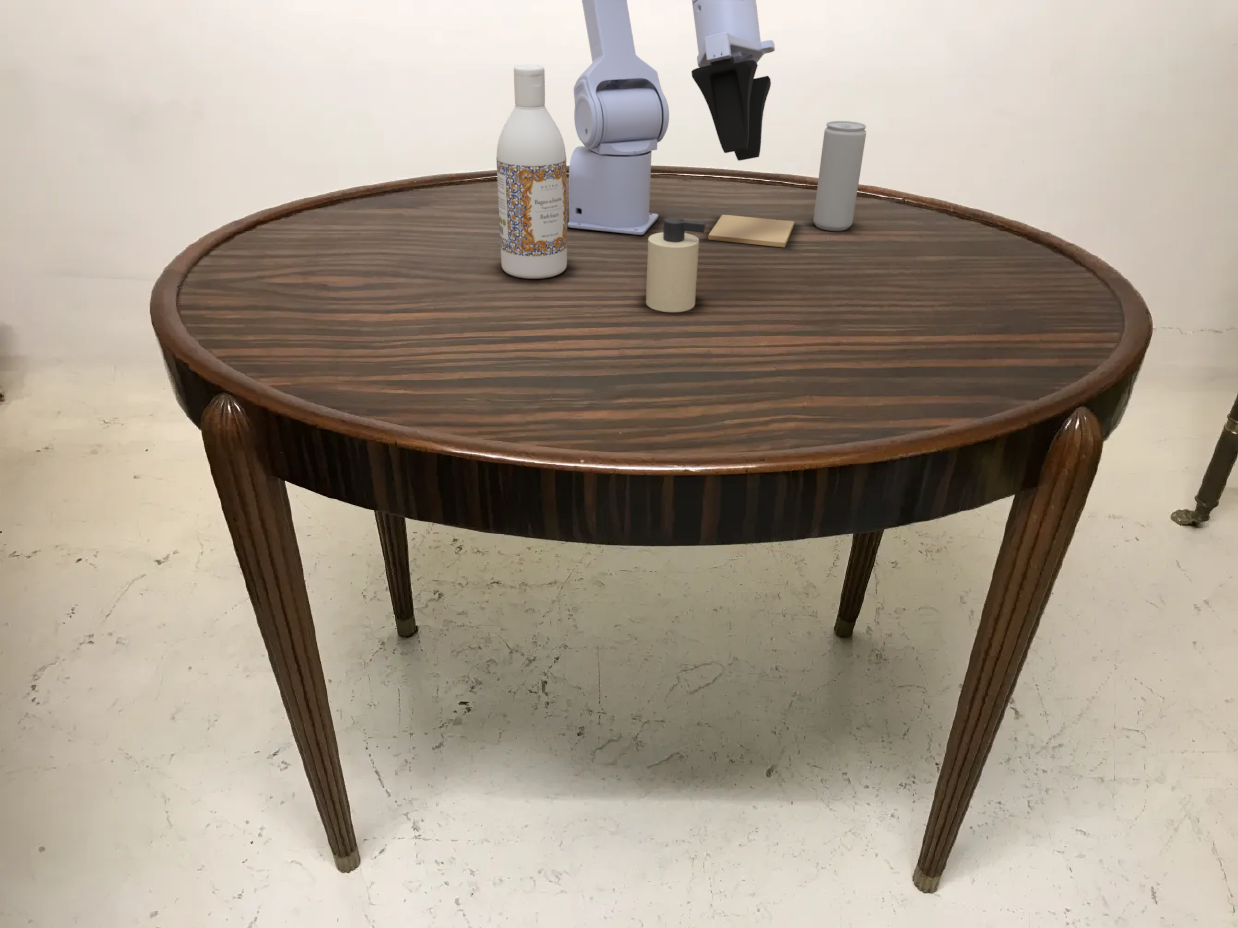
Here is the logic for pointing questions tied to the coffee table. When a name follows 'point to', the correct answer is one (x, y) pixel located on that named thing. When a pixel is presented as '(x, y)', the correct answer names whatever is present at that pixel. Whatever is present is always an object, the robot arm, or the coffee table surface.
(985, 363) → the coffee table surface
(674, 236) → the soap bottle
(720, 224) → the coaster
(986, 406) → the coffee table surface
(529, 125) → the bath foam
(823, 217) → the beverage can
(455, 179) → the coffee table surface
